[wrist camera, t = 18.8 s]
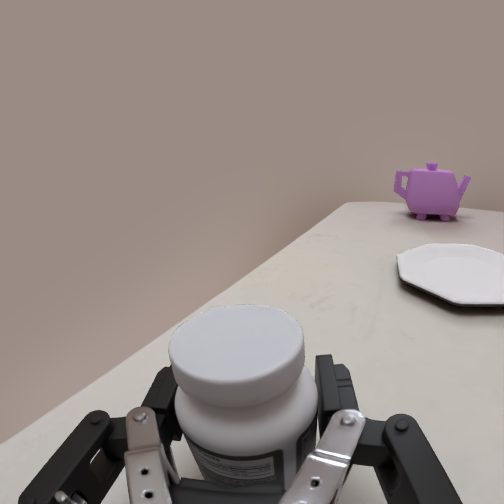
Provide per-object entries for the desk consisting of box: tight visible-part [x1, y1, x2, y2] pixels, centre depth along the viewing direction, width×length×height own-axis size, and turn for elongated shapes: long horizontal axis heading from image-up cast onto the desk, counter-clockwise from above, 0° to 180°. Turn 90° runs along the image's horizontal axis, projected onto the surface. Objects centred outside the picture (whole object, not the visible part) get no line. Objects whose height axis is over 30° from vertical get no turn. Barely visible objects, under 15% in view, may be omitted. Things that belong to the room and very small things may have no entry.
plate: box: [397, 243, 504, 307], centre depth 32 cm, size 20×20×2 cm
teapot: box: [394, 163, 471, 221], centre depth 61 cm, size 20×12×13 cm, turn 67°
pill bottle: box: [168, 304, 318, 490], centre depth 12 cm, size 6×6×10 cm
